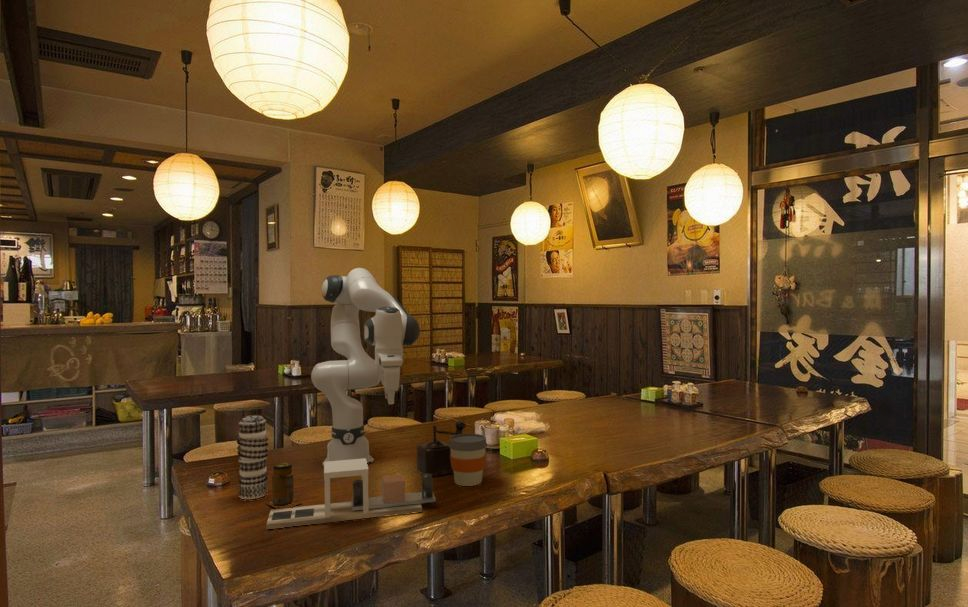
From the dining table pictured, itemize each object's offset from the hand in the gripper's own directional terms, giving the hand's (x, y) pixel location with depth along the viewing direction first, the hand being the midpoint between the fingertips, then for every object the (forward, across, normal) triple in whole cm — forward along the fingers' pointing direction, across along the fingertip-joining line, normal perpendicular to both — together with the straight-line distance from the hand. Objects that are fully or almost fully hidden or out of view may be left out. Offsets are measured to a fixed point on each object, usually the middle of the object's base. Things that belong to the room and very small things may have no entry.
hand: (389, 401), depth 176 cm
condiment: (+29, +1, -32) cm, 43 cm away
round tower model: (+29, -10, -42) cm, 52 cm away
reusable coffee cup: (+29, -2, +26) cm, 39 cm away
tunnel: (+28, +14, -14) cm, 34 cm away
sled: (+27, +14, -1) cm, 31 cm away
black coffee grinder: (+29, -17, +20) cm, 39 cm away
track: (+29, +14, -14) cm, 35 cm away
